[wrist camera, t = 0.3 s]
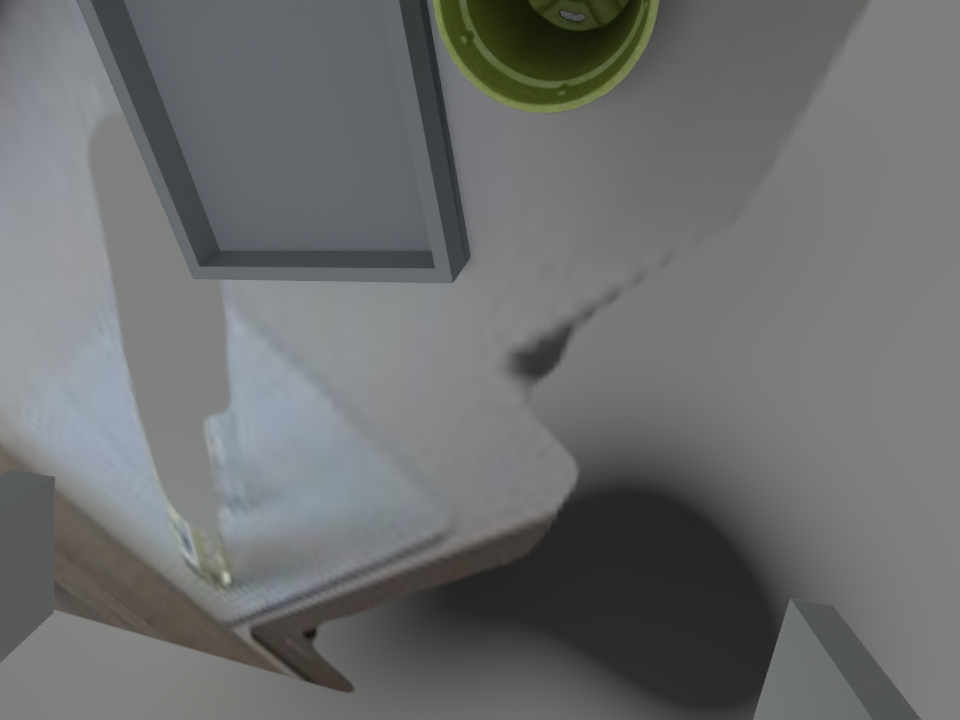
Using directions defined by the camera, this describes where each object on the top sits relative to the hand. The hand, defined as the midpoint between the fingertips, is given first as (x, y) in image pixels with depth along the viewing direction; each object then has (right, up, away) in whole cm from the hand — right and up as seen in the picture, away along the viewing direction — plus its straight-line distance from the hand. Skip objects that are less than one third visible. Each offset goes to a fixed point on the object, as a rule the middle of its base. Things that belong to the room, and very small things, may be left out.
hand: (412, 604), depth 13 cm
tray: (-10, +20, +32) cm, 39 cm away
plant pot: (+6, +24, +23) cm, 34 cm away
